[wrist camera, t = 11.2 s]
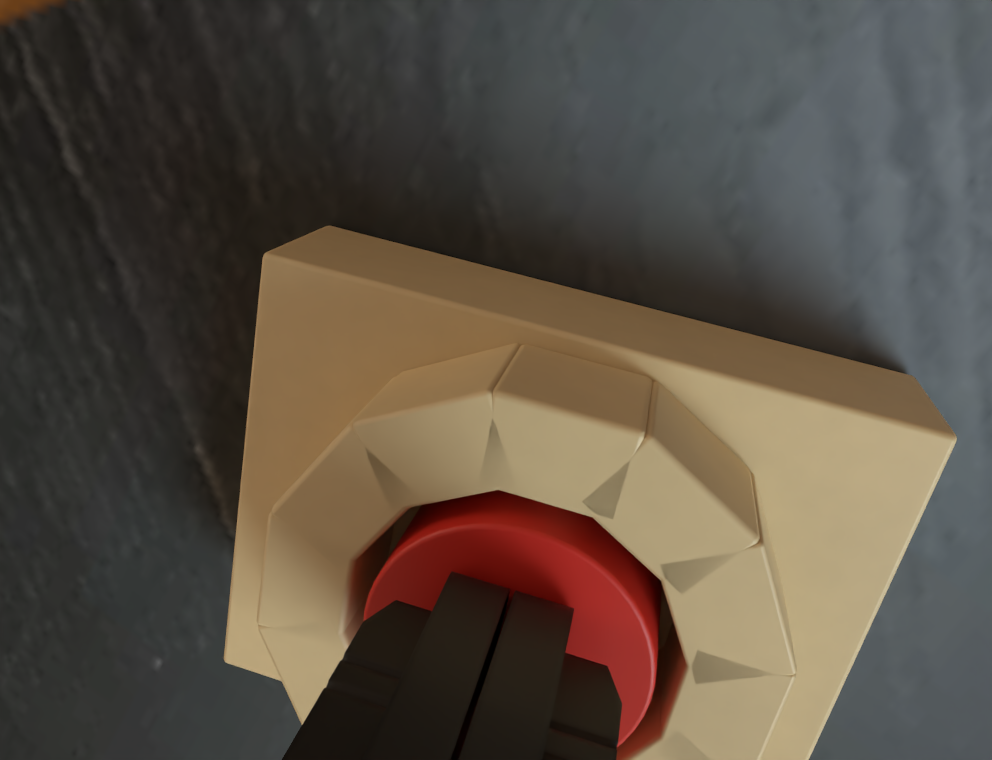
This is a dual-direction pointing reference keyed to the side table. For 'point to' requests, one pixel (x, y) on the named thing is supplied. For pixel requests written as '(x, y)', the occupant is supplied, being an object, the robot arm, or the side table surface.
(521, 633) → the robot arm
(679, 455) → the button box
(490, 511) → the button
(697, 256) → the side table surface
